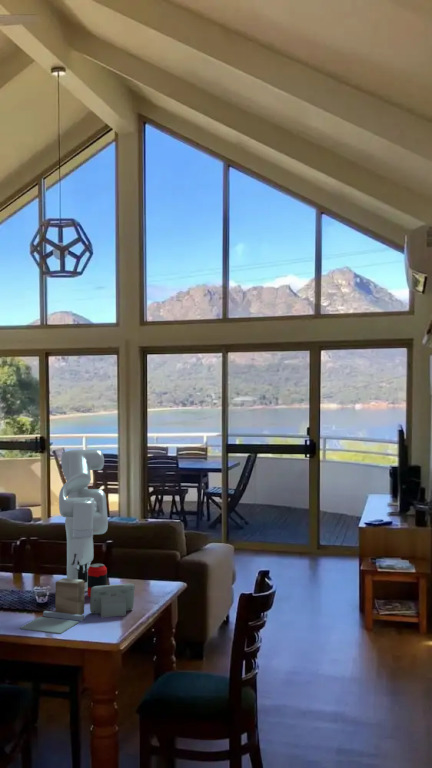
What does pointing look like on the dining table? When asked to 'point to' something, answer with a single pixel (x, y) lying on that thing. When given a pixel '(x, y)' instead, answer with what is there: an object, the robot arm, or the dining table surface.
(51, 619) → the mat
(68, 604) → the block
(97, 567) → the soda can
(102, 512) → the robot arm
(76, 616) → the rail
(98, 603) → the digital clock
